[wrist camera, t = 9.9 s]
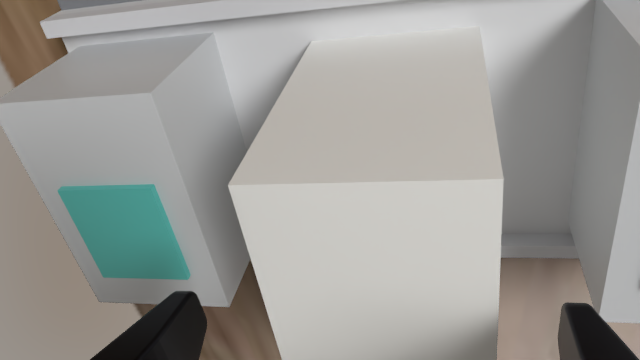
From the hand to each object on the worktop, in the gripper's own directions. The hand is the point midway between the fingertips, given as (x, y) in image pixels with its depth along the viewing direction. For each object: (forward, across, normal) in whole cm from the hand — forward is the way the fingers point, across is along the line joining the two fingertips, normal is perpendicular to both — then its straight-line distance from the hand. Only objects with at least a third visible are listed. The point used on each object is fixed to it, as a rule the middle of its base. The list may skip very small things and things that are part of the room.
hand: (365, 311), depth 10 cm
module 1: (+7, +7, 0) cm, 10 cm away
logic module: (+7, 0, 0) cm, 7 cm away
